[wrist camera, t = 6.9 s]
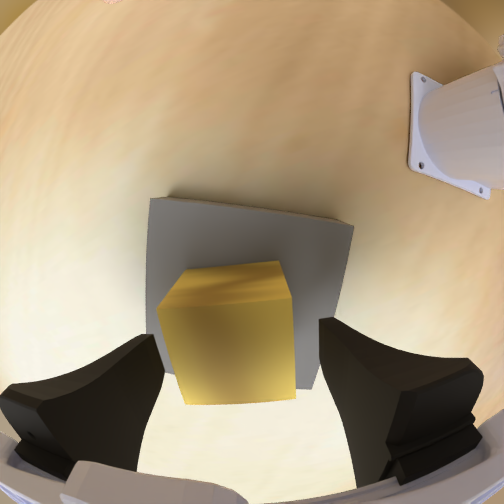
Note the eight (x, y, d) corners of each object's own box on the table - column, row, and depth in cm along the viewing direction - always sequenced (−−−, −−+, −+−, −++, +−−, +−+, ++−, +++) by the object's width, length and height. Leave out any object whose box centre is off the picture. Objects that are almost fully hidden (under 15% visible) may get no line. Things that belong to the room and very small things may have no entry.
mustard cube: (278, 260, 14) (292, 297, 10) (284, 341, 16) (295, 398, 11) (185, 269, 14) (156, 308, 10) (201, 348, 16) (185, 404, 11)
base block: (335, 219, 17) (354, 226, 14) (303, 361, 20) (311, 389, 16) (169, 196, 17) (150, 198, 14) (162, 343, 20) (148, 368, 16)
